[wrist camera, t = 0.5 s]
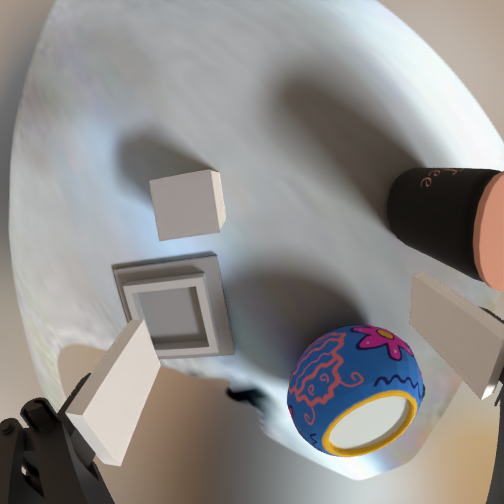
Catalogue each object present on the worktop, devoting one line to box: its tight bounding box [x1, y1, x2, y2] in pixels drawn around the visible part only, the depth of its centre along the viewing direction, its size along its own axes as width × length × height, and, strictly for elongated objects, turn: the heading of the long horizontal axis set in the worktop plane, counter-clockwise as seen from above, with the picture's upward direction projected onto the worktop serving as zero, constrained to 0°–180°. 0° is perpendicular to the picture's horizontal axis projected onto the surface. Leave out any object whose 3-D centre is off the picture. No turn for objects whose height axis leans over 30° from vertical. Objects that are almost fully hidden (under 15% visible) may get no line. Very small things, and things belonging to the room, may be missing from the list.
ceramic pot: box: [287, 325, 426, 457], centre depth 32 cm, size 18×18×15 cm
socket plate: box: [114, 255, 235, 359], centre depth 35 cm, size 14×14×3 cm
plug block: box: [149, 169, 226, 241], centre depth 29 cm, size 6×6×9 cm
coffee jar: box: [387, 168, 504, 291], centre depth 25 cm, size 11×11×18 cm
